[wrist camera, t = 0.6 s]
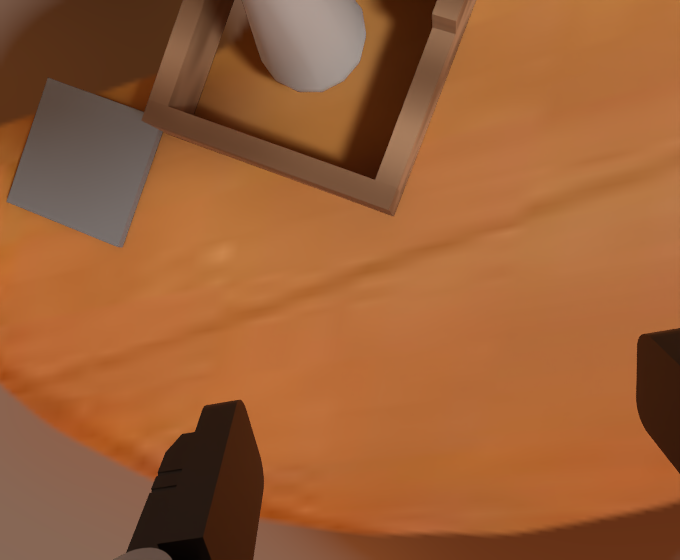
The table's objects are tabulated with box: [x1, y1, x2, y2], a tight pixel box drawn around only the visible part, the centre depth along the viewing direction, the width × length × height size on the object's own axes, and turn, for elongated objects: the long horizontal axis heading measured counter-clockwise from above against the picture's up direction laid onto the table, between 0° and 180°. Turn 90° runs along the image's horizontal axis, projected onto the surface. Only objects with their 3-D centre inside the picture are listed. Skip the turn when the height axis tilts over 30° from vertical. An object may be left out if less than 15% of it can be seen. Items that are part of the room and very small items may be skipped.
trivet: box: [7, 78, 163, 247], centre depth 35 cm, size 8×8×1 cm
